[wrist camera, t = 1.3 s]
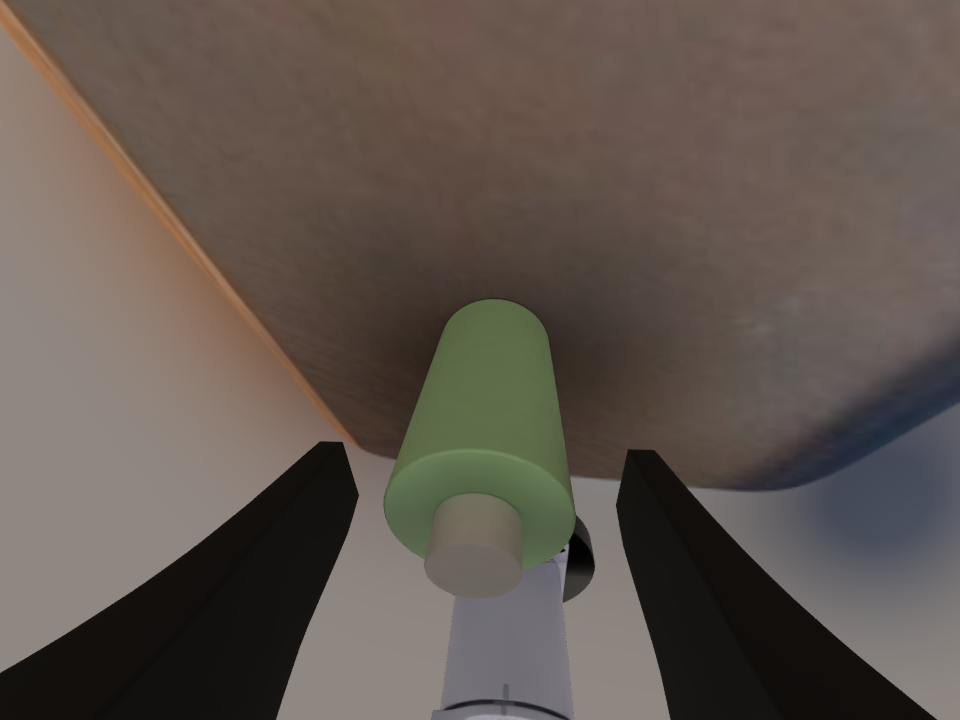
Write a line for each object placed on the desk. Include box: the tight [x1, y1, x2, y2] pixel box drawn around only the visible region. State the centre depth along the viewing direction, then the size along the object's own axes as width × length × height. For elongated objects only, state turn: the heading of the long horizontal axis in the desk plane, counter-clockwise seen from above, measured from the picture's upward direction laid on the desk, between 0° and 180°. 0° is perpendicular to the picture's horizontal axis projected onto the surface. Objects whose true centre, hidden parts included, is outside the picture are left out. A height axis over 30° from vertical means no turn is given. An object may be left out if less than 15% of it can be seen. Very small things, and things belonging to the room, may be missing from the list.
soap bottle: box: [384, 299, 576, 599], centre depth 12 cm, size 4×4×9 cm
